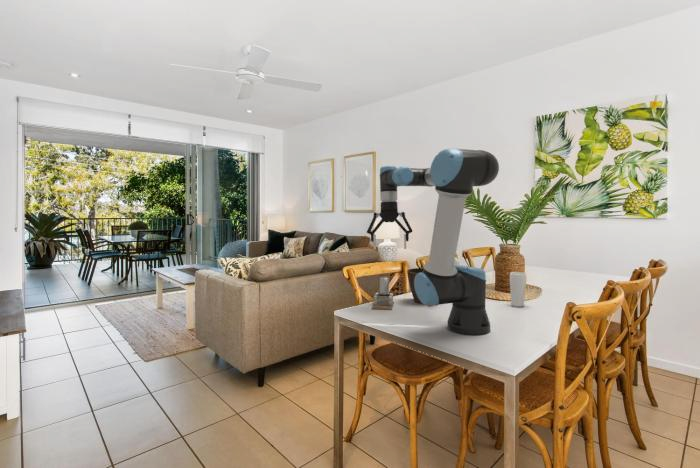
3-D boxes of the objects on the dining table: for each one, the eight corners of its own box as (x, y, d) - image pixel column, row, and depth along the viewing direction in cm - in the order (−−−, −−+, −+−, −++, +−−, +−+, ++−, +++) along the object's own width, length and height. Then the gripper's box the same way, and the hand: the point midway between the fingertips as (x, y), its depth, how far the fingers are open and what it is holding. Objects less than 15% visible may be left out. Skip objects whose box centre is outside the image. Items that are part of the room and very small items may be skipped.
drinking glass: (517, 303, 171) (518, 271, 170) (529, 306, 164) (529, 273, 163) (506, 304, 169) (506, 272, 168) (517, 308, 162) (517, 274, 161)
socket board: (391, 313, 158) (391, 301, 157) (371, 312, 159) (370, 300, 159) (394, 304, 172) (394, 293, 172) (375, 303, 174) (374, 292, 174)
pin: (388, 304, 167) (388, 278, 166) (379, 304, 167) (379, 278, 167) (388, 302, 171) (389, 277, 170) (380, 302, 171) (380, 276, 170)
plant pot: (421, 310, 161) (421, 274, 160) (400, 303, 174) (400, 269, 173) (446, 305, 169) (446, 271, 168) (424, 299, 182) (424, 266, 180)
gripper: (417, 200, 165) (418, 247, 166) (362, 202, 169) (363, 248, 170) (417, 200, 158) (418, 249, 158) (360, 202, 162) (361, 249, 163)
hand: (389, 249), depth 164 cm, fingers open, 13 cm apart
